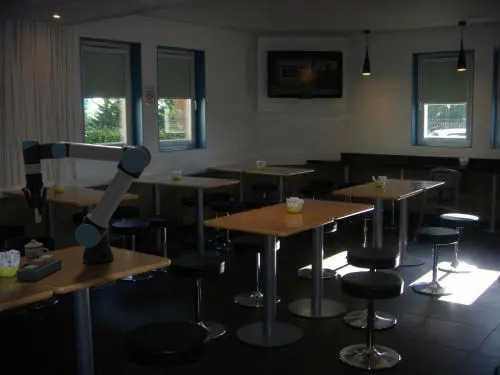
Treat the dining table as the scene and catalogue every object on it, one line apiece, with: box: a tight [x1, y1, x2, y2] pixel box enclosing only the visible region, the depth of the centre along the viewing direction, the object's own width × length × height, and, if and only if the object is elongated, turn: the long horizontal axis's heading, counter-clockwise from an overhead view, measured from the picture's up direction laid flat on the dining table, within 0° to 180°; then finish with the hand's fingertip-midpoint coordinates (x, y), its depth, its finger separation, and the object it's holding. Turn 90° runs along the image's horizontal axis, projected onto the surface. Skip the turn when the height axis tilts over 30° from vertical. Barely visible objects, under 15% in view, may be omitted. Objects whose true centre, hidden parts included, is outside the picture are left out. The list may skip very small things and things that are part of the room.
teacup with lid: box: [23, 239, 50, 266], centre depth 317 cm, size 12×9×12 cm
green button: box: [22, 264, 39, 271], centre depth 288 cm, size 5×5×4 cm
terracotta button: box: [32, 259, 47, 267], centre depth 295 cm, size 5×5×4 cm
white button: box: [40, 254, 55, 263], centre depth 302 cm, size 5×5×4 cm
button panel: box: [16, 259, 62, 281], centre depth 295 cm, size 10×22×4 cm, turn 168°
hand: (38, 221), depth 301 cm, fingers closed
